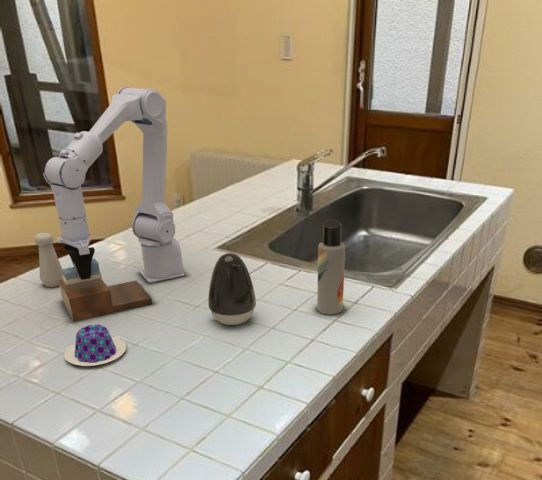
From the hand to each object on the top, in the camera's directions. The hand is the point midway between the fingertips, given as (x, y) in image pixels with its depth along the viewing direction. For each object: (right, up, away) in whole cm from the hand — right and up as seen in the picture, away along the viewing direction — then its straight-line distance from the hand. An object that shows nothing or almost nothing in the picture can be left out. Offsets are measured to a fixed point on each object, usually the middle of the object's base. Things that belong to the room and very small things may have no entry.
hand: (83, 275), depth 136 cm
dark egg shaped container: (+34, -10, -4) cm, 36 cm away
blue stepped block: (0, -1, 0) cm, 1 cm away
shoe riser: (+4, -6, +5) cm, 9 cm away
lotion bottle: (+55, -8, 0) cm, 56 cm away
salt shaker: (-12, 0, +16) cm, 20 cm away
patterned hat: (+7, -18, -15) cm, 25 cm away
